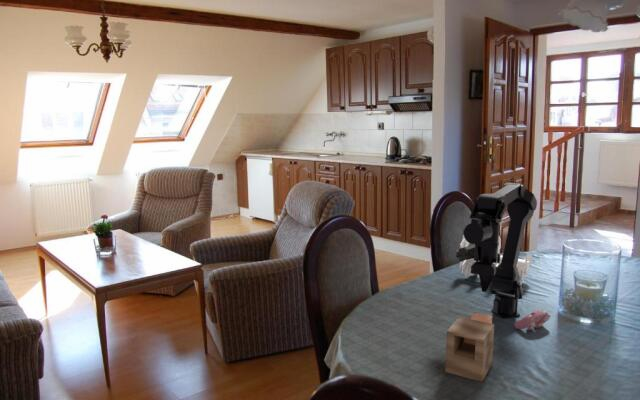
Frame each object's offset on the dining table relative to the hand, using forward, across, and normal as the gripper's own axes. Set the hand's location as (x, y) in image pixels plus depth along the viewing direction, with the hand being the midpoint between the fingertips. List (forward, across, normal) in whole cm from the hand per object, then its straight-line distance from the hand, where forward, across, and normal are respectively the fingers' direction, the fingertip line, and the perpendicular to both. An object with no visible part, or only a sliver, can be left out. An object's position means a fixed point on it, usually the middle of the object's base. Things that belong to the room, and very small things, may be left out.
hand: (484, 291), depth 143 cm
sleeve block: (+14, +22, 0) cm, 26 cm away
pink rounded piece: (+12, -10, +14) cm, 21 cm away
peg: (+8, +15, +1) cm, 17 cm away
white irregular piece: (+10, -49, -2) cm, 50 cm away
